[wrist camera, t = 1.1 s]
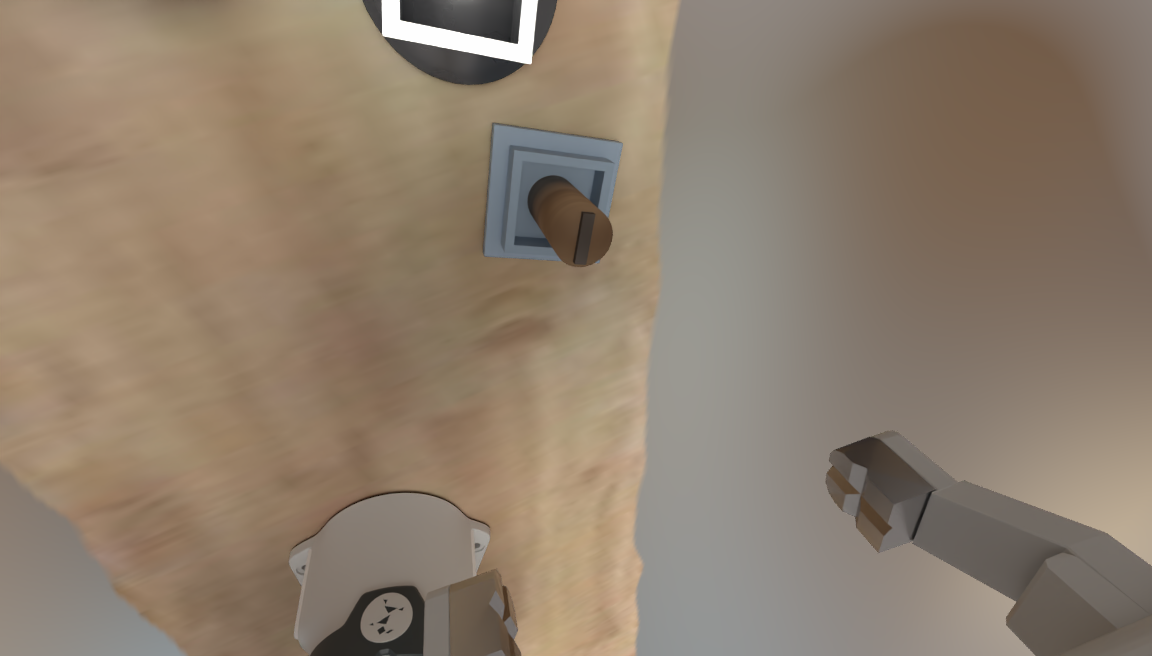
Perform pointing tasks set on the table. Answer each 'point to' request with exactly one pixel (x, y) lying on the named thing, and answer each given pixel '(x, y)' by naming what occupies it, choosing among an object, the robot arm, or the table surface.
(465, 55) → the hub
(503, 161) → the stand
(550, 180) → the peg
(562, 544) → the table surface
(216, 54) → the table surface
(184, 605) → the table surface
